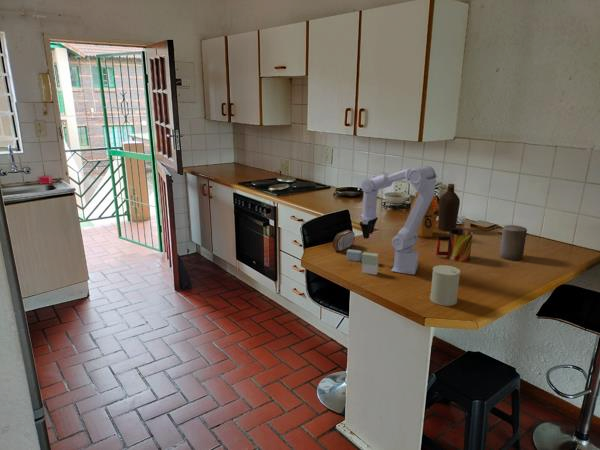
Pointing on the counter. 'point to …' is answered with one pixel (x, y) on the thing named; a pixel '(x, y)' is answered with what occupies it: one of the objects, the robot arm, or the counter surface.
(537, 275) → the counter surface
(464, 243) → the mug
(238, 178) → the counter surface
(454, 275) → the can
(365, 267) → the grey brick
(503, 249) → the pillar candle
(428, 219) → the coffee package
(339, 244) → the tin
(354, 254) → the blue brick
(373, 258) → the sage brick
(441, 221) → the olive oil
